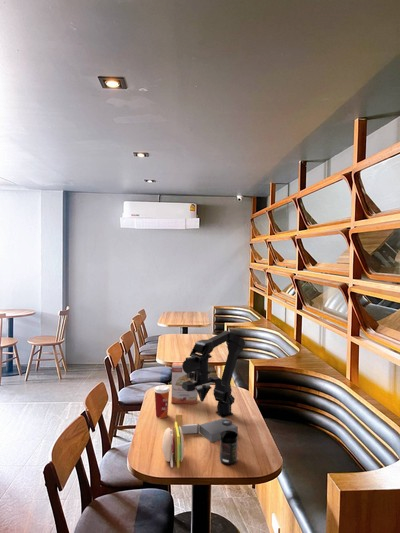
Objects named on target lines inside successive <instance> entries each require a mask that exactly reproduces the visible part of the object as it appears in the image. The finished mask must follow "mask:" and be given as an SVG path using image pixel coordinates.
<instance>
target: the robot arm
mask: <svg viewBox="0 0 400 533" xmlns="http://www.w3.org/2000/svg"><path fill="white" fill-rule="evenodd" d="M194 343H195V344H194V345H193V348H192V349H191V352H190V354H189V356H188V357H185V360H184V361H183V362H182V363H183V364H182V368H183V370H184V372H185V373H187V378H190V380H192V379H193V380H194V381H196V382H195V383H193V382H191V381H186V382H183V383H182V388H183V389H185V390H186V391H188V392H189V391H194V390H195V389H196V390H197V392H198V396H199V398H198V399H199V400H200V402H201V403H203V402H204V401H205V399H206V396H207V395H208V393H209V391H210V390H212V386H211V384H214V389H213V390H212V391H213V396H214V397H213V398H214V400H215V401H217V405H216V411H215V413H216V414H217V415H218V416H220V417H221V418H226V417H229V416H233V415H234V413H233V412H232V405H233V404H234V403H235V400H236V398H235V397H234V395H232V392H233V390H232V389H233V388H232V385H231V383H232V378H233V374H234V371H235V367H236V365H237V364H236V363H237V359H238V357H239V355H240V354H241V353H242V352H243V350H244V347H245V344H246V342H245V339H244V338H243V337H240V336H238V335H237V334H235V333H234V332H233V331H230V330H223V331H222V332H221V333H219V334H216V335H214V336H212V337H210V338H208V339H200V340H197V341H196V342H194ZM224 343H227V351H228V354H227V357H226V361H225V364H224V367H223V371H222V375H221V378H220V377H218V376H217V375H212V376H209V375H210V374H211V371H210V370H209V359H211V358H212V356H213V355H211V353H212V352H213V351H214V349H215V348H217V347H219V346H220V345H223V344H224ZM192 372H194V373H192Z"/></svg>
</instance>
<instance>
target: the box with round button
mask: <svg viewBox="0 0 400 533" xmlns="http://www.w3.org/2000/svg"><path fill="white" fill-rule="evenodd" d="M238 429H239V426H238V425H236V424H235V423H234V422H233V421H231V420H230V419H227V418H226V417H221V418H219V419H216V420H212V421H209V422H204V423H200V424H199V433H198V434H201V436H203V437H204V438H205V439H207V440H208V441H209V442H210V443H214V442H217V441H220V433H221V432H223V431H227V430H229V431H234V432H236V433H237V435H239V432H238V431H239V430H238Z"/></svg>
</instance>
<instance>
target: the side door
mask: <svg viewBox="0 0 400 533" xmlns="http://www.w3.org/2000/svg"><path fill="white" fill-rule="evenodd" d="M174 416H175V421H174V423H175V422H177V426H178V429H179V426H180V427H181V429H182V432H183V435H184V434H200V433H199V425H200V423H194V424H193V423H191V424H183V413H175V414H174Z"/></svg>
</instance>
